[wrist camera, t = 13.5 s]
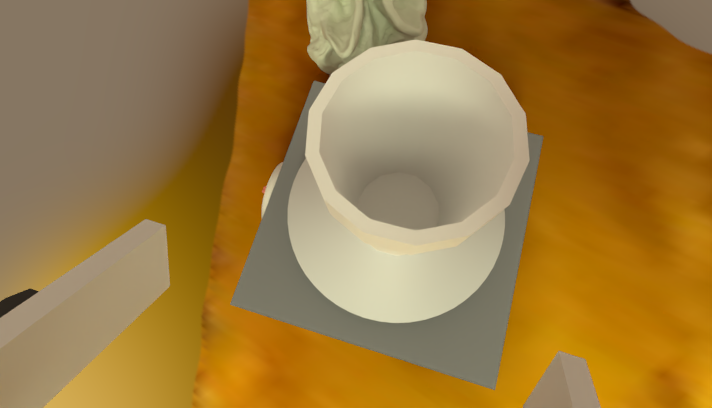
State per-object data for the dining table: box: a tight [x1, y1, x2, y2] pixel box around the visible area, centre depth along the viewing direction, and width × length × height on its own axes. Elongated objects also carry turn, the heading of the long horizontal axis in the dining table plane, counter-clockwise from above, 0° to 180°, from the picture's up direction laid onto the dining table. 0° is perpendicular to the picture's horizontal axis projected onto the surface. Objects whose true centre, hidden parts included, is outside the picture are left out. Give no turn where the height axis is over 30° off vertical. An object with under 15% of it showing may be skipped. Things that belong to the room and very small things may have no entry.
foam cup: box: [305, 40, 530, 256], centre depth 23 cm, size 10×9×13 cm
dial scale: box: [230, 81, 543, 390], centre depth 34 cm, size 21×20×9 cm
